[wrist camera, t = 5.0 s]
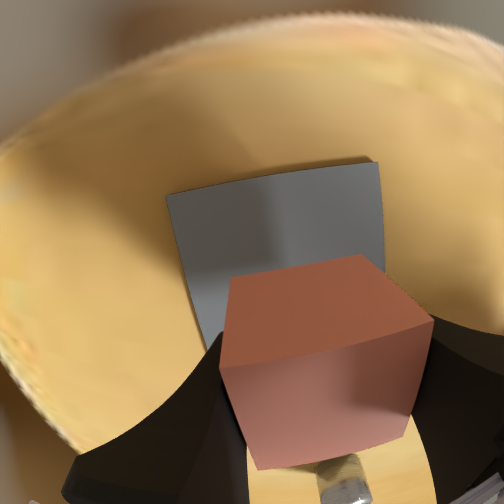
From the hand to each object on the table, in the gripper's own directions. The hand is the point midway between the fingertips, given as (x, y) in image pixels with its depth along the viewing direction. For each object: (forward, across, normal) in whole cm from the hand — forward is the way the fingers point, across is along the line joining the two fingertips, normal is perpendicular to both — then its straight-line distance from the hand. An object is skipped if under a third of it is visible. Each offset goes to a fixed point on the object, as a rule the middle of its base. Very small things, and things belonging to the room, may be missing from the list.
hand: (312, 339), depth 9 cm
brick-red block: (+2, 0, 0) cm, 2 cm away
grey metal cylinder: (+6, -3, +24) cm, 24 cm away
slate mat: (+6, 0, 0) cm, 6 cm away
